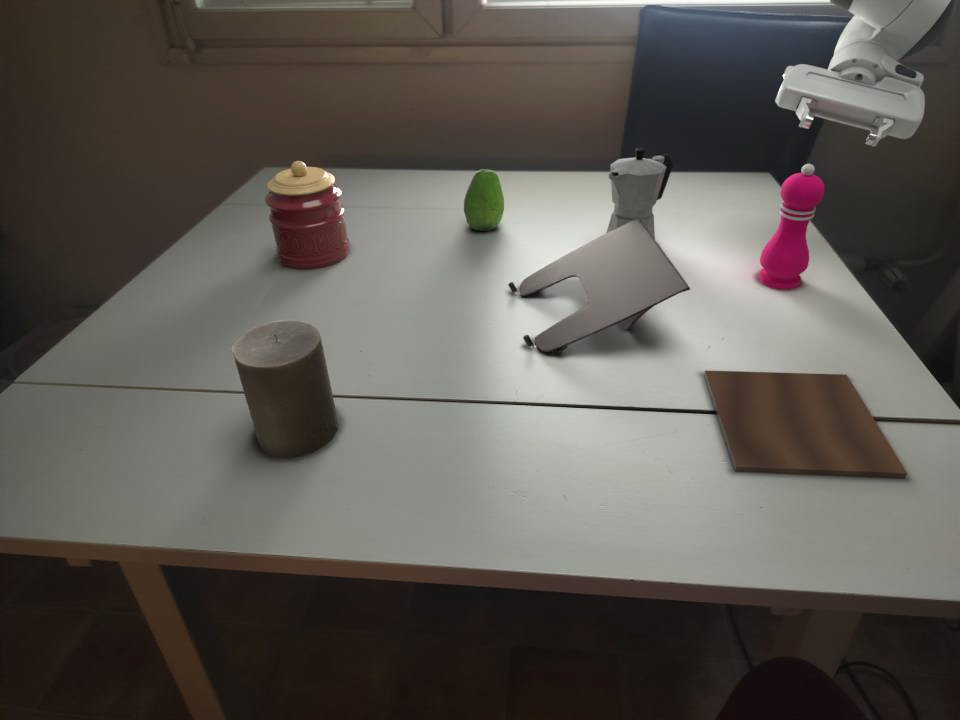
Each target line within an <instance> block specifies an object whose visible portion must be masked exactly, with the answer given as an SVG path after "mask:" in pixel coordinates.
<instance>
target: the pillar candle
mask: <svg viewBox="0 0 960 720" xmlns="http://www.w3.org/2000/svg"><path fill="white" fill-rule="evenodd" d="M230 349H231V350H230V351H231V353H232V356H233V359H234V363H235V365H236V368H237V373H238V376H239V380H240V384H241V386H242V390H243V394H244V398H245V402H246V404H247V407H248V411H249V414H250V418H251V421H252V424H253V428H254V432H255V434H256V438H257V442H258V444H259V446H260V448H261V449H262V450H264V452H265V453H267V454H268V455H269V456H271V457H275V458H279V459H280V458H281V459H292V458H299V457H303V456H306V455H309V454H313V453H314V452H317V451H319V450H321V449H322V448H323V447H325V446H326V445H327V444H329V443H330V442H332V441H333V439H334V438H335V436H336V434H337V432H338V431H339V426H340V425H339V420H338V415H337V409H336V405H335V400H334V399H335V398H334V395H333V390H332V384H331V381H330V376H329V370H328V366H327V361H326V356H325V350H324V345H323V341H322V336H321V333H320V331H319V329H318V328H317V327H315V326H314V325H313V324H311V323H309V322H307V321H303V320H298V319H287V318H286V319H281V320H279V319H278V320H271V321H269V322H266V323H264V324H260V325H257V326H255V327H253V328H250V329H249V330H247V331H246V332H244V334H241V335H240V336H239V337H238V338H237V339H236V340H235V342H234V344H233V346H231V348H230Z"/></svg>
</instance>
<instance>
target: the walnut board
mask: <svg viewBox="0 0 960 720" xmlns="http://www.w3.org/2000/svg"><path fill="white" fill-rule="evenodd" d="M703 377H704V379H705V382H706V383H705V384H706V387H707V389H708V392H709V395H710V398H711V402H712V404H713V408H714V412H715V414H716V417H717V420H718V423H719V426H720V429H721V433H722V436H723V439H724V442H725V445H726V448H727V452H728V454H729V458H730V461H731V464H732V467H733V470H734V472H737V473H738V472H740V473H761V474H762V473H763V474H764V473H765V474H785V475H786V474H787V475H789V474H790V475H807V476H809V475H812V476H832V477H834V476H835V477H860V478H883V479H906V477H907V475H908V472H907V471H906V469H905V468H904V466H903V464H902V462H901V460H900V459H899V457H898V456H897V454H896V453H895V451H894V449H893V448H892V446H891V444H890V443H889V441H888V439H887V438H886V436H885V434H884V433H883V431H882V429H881V428H880V426H879V425H878V424H877V422H876V420H875V419H874V417H873V415H872V413H871V412H870V410H869V409H868V407H867V405H866V404H865V402H864V400H863V399H862V398H861V395H860V394H859V392H858V391H857V389H856V387H855V386H854V384H853V382H852V381H851V379H850V378H849V376H848V374H844V373H843V374H838V373H808V372H807V373H805V372H804V373H802V372H776V371H775V372H771V371H770V372H769V371H740V370H739V371H737V370H704V373H703Z"/></svg>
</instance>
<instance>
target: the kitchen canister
mask: <svg viewBox="0 0 960 720" xmlns="http://www.w3.org/2000/svg"><path fill="white" fill-rule="evenodd" d="M335 182H336V178H335V176H334V175H333V174H332V173H330V172H328V171H325V170H324V169H322V168H320V167H317V166H316V167H315V166H307V165H306V164H305V162H303V161H301V160H295V161H293V162H292V163H291V166H290V168H287V169H283V170H281V171H279V172H278V173H277V174H275V176H274V177H272V178H271V179H270V180H269V181H268V182H267V185H266V186H267V189H268V190H269V192H268V193H267V194H266V196H265V198H264V202H265V204H266V205H267V206H268V207H269V209H270V214H269V217H268V219H269V222H270V224H271V228H272V232H273V238H274V242H275V245H276V247H275V252H276V255H277V258H278V260H279V263H280V264H281V266H282V267H284V268H285V267H287V268H291V269H294V270H295V269H296V270H317V269H322V268H327V267H331V266H333V265H337V263H339V262H342V261H343V260H344V259H346V257H348V255H349V253H350V248H351V244H350V238H349V237H348V233H347V232H348V231H347V226H346V218H345V207H344V206H343V204H342V203H341V199H340V198H341V197H342V194H343V191H342V188H341V187H340V186H339V185H337V184H335Z"/></svg>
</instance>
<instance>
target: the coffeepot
mask: <svg viewBox="0 0 960 720" xmlns="http://www.w3.org/2000/svg"><path fill="white" fill-rule="evenodd" d="M634 152H635V153H634V154H635V156H634V157H627V158H626V157H625V158H618V159H616V160H615V161H613V162H612V163H611V164H610V165H609V166H610V171H609V172H610V173H608V179H609V180H610V186H611V187H610V188H611V201H612V203H613V204H614V207H613V211H612V212H611V215H610V219H609V223H608V226H607V230H606V233H605V234H607V233H609V232H611V231H613V230H615V229H617V228H619V227H621V226H623V225H625V224H627V223H629V222H631V221H633V220H635V219H637V218H639V219H640V221H641V222H642V223H643V225H644V226H645V227H646V229H647V230H648V231H649V233H650V234H651V235H652V237H653V238H654V240H655V241H656V233H655V215H654V213H653V210H654V209H653V208H654V206H655V205H656V204H657V202H658V201H659V200H661V199H662V198H663V195H664V192H665V190H666V187H667V184H668V181H669V179H670V176H671V173H672V170H673V168H674V160H673V158H672V157H671V155H670V154H669V153H664V154H661V155H655V156H652V158H646V157H644V155H645V152H646V149H645V148H643V147H637V148H635V149H634Z"/></svg>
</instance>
